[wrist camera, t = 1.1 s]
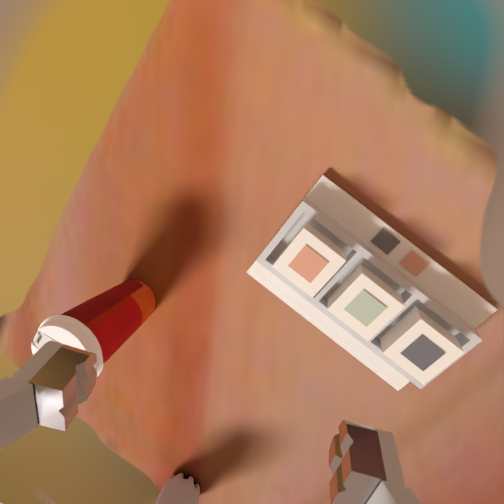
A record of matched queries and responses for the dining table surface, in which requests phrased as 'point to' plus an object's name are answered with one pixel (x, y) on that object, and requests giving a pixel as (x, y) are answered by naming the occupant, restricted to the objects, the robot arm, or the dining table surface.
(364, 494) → the robot arm
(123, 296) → the coffee cup
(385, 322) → the sage key
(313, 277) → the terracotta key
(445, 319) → the keypad base
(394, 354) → the charcoal key
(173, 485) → the bottle
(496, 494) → the dining table surface
